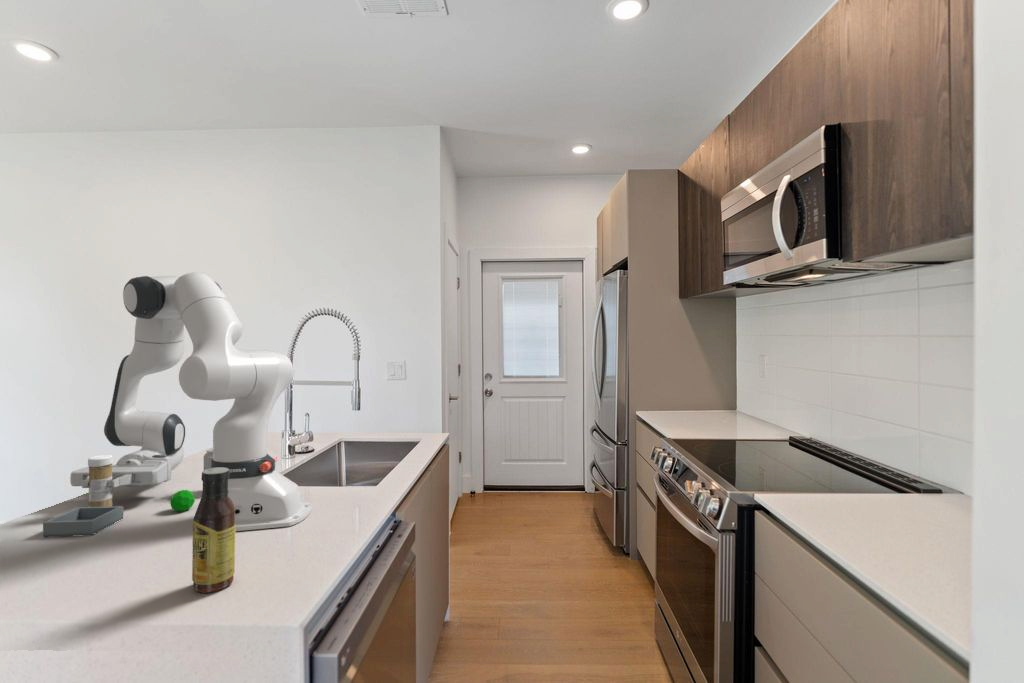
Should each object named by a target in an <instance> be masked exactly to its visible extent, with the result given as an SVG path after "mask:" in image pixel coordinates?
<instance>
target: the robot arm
mask: <svg viewBox="0 0 1024 683" xmlns="http://www.w3.org/2000/svg"><path fill="white" fill-rule="evenodd" d="M122 291H123V292H122V298H123V299H122V300H123V304H124V307H125V309H126V311H127V312H128V314H130V315H131V316H132V317H134V318H136V319H135V326H134V343H133V346H132V350H131V352H130V353H129V354H128V355H126V356H124V357H123V358H122V359H121V362H120V364H119V367H118V370H117V375H116V378H115V379H116V380H115V383H114V389H113V394H112V399H111V404H110V409H109V413H108V416H107V418H106V420H105V424H104V426H103V427H104V428H103V434H104V436H105V438H106V440H108V442H109V443H110V444H111V445H113V446H114V447H133V446H134V447H141V448H140V449H139V450H137V451H134V452H130V453H128V454H125V455H123V456H121V457H120V458H119V459H118V461H116V464H112V479H111V480H108V487H113V488H117V487H119V486H125V487H128V488H137V487H140V486H144V485H145V486H147V485H148V486H149V485H150V486H153V485H159V484H162V483H167V482H169V481H171V480H172V478H171V477H172V471H173V470H175V469H176V468H177V467H178V466H179V465H180V464H181V463H182V461H183V460H184V457H185V449H184V447H183V445H184V442H185V437H186V427H185V426H186V425H185V424H184V422H183V420H182V418H181V417H180V416H179V415H177V414H176V413H168V412H158V411H157V412H155V411H144V410H139V409H138V408H137V407H136V402H137V396H138V393H139V392H138V391H139V387H140V386H139V385H140V384H141V383H140V382H141V381H142V378H145V376H148V375H152V374H157V373H161V372H164V371H167V370H169V369H171V368H173V367H175V366H176V365H177V364H178V363H179V362H180V361H181V360H182V358H183V356H184V353H185V352H184V351H185V329H186V331H187V333H188V335H189V338H190V340H191V342H192V347H193V348H192V353H191V355H190V356H188V357H187V358H186V359H185V360H184V361H183V363H182V364H181V367H180V368H179V369H180V370H179V372H178V383H179V385H180V388H181V390H182V392H183V393H184V394H185V395H186V396H187V397H189V398H191V399H194V400H200V401H201V400H202V401H214V402H215V401H225V400H232V399H234V402H233V403H232V404H233V405H232V406H231V408H230V409H229V411H228V412H227V413H226V414H225V415H224V416H221V418H219V419H218V420H217V421H216V422H215V424H214V426H213V430H212V439H213V440H212V448H213V459H212V460H211V468H216V467H225V468H228V469H229V478H228V491H229V493H228V497H229V498H230V499H231V500H232V502H233V504H234V506H235V523H236V527H235V532H240V531H250V530H253V531H254V530H262V529H263V530H264V529H273V528H274V529H276V528H285V527H292V526H294V525H297V524H298V523H301V522H302V521H303V520H305V519H306V518H307V517H308V516H309V515H310V514H311V512H312V505H311V503H310V502H304V501H303V500H302V493H301V490H300V487H299V485H298V484H297V483H296V482H294V481H292V480H291V479H290V478H288V477H286V476H284V475H283V474H282V473H280V472H279V471H277V470H276V463H277V462H278V460H277V459H278V456H274V458H273V457H272V456H271V455H269V454H268V453H267V450H268V449H267V448H268V431H269V430H268V429H269V422H270V421H269V420H270V416H271V414H272V411H273V408H274V406H275V404H276V402H277V400H278V399H279V397H280V395H282V394H283V392H284V391H285V390H286V389H288V387H289V386H291V383H292V381H293V378H294V365H293V364H292V361H291V359H290V358H289V357H288V356H287V355H286V354H284V353H282V352H278V351H272V350H267V349H265V350H264V349H263V350H239V349H237V348H236V347H235V346H234V345H235V344H237V342H238V341H240V339H241V337H242V335H243V331H244V330H243V324H242V321H241V320H240V318H239V316H238V315H237V313H236V311H235V309H234V307H233V306H232V303H231V302H230V300H229V299H228V297H227V296H226V294H225V293H224V291H223V290H222V287H221V286H220V284H219V283H218V282H216V281H215V280H214V279H213V278H211V277H210V276H209V275H207V274H205V273H202V272H196V271H195V272H189V273H184V274H183V275H181V276H176V275H162V276H161V275H159V276H148V275H142V276H137V277H133V278H131V279H129V280H128V281H127V282H126V284H125V285H124V288H123V290H122ZM69 477H70V478H69V480H70V485H71V486H72V487H81V488H82V489H89V466H87V467H81V468H79V469H76V470H73V471H71V473H70V476H69Z"/></svg>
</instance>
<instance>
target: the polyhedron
mask: <svg viewBox="0 0 1024 683" xmlns="http://www.w3.org/2000/svg"><path fill="white" fill-rule="evenodd" d="M169 501H170V502H169V503H170V507H171V509H172V510H174V512H178V511H183V512H185V510H186V511H187V510H189V509H191V508H192V507H193V505H194V504H195V501H196V498H195V495H194V493H193V492H192V491H190V490H188V489H181V490H179V491H176V492H175V493H173V495H172V496H171V499H170V500H169Z"/></svg>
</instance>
